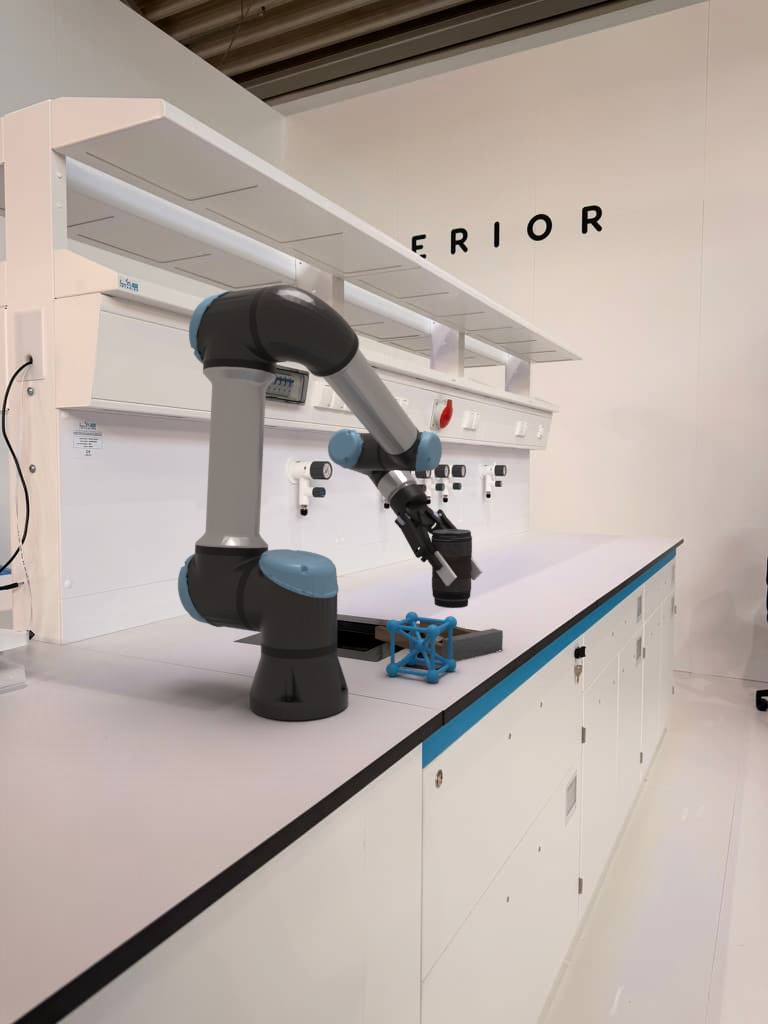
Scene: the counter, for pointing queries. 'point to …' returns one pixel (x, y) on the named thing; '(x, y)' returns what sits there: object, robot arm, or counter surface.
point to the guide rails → (402, 641)
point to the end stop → (473, 644)
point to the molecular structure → (421, 646)
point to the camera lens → (453, 567)
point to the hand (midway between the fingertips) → (465, 578)
